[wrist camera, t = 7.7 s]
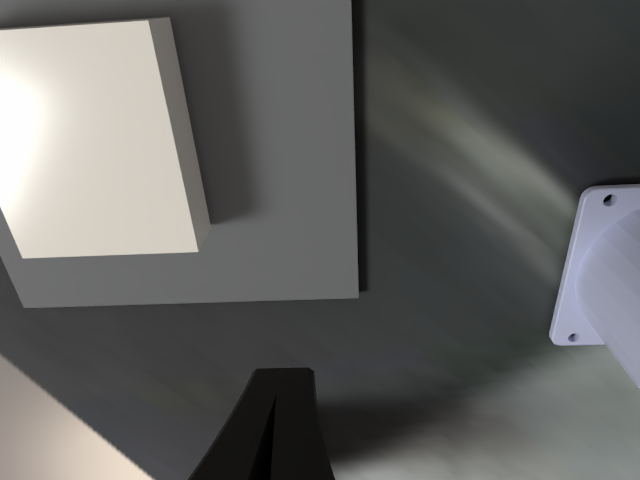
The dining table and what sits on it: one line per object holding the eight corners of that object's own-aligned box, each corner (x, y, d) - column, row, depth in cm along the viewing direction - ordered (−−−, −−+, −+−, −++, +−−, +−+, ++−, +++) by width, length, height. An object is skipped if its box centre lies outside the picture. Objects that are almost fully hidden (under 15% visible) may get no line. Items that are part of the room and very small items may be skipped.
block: (148, 20, 14) (-75, 35, 14) (198, 252, 17) (22, 258, 18) (171, 16, 16) (-24, 29, 16) (212, 225, 19) (53, 231, 20)
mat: (347, -146, 14) (347, -150, 13) (358, 292, 21) (358, 297, 21) (-153, -102, 15) (-165, -105, 14) (29, 303, 22) (24, 307, 22)
